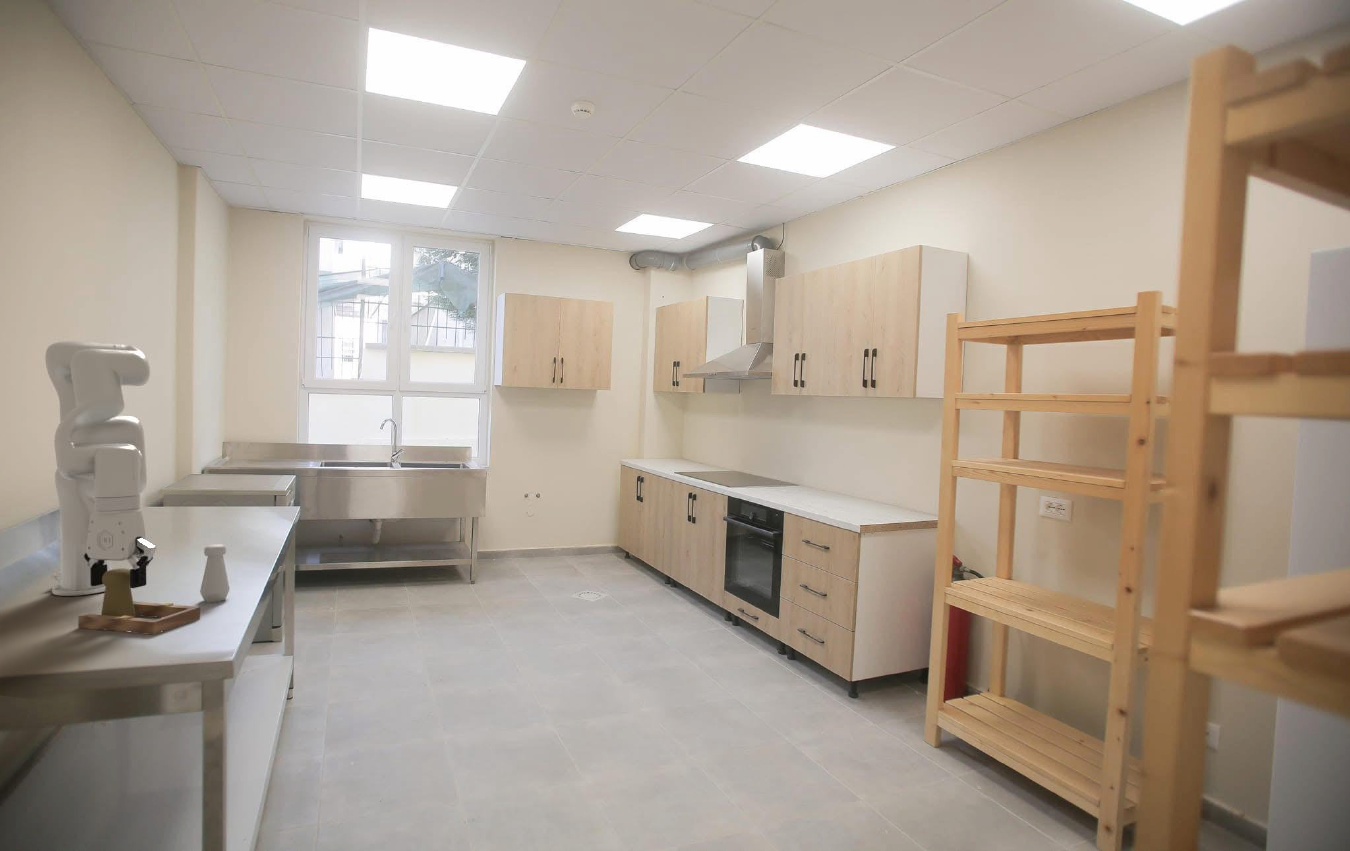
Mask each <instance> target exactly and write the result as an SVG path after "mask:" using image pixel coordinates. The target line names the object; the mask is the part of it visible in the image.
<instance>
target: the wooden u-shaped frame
mask: <svg viewBox="0 0 1350 851" xmlns="http://www.w3.org/2000/svg"><path fill="white" fill-rule="evenodd" d="M133 604H134V610H135V616H137V615H143V616H142V617H148V616H157V617H156V618H157V619H152V618H151V619H150V618H141V617H140V618H139V617H136V618H133V616H121V617H119V616H108V615H101V614H95V613H94V614H93V613H82V614H79V615H78V616H77V623H78V625H77V626H78V627H79V628H78V627H77V628H78V629H86V628H88V629H89V630H97V629H106V630H105V631H108V630H115V631H114V632H119V631H131V632H137V633H136V634H140V633H149V634H148V635H151V634H155V635H158V634H160V632H161V631H164V632H166V631H165V630H167V631H169V630H172V629H174V628H173V627H175V628H177V626H178V627H180V626H183V625H185V623H186V624H189V623H191V622H190V621H192V622H194V621H197V620H199V619H201V606H193V605H192V606H191V605H179V604H174V603H171V602H163V603H156V602H144V601H134V600H133ZM159 617H163V618H159ZM196 619H197V620H196ZM188 622H189V623H188ZM182 624H183V625H182ZM179 625H180V626H179ZM171 628H172V629H171ZM168 629H169V630H168ZM157 633H158V634H157ZM161 633H162V632H161Z"/></svg>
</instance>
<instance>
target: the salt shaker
mask: <svg viewBox="0 0 1350 851" xmlns="http://www.w3.org/2000/svg"><path fill="white" fill-rule="evenodd" d="M203 549H204V550H203V554H204V556H206V557H207V559H206V563H205V568H204V571H203V576H202V582H201V585H200V590H199V592H200V593H199V594H200V595H201V597H202V599H203V601H204V602H205V603H211V602H212V603H218V602H222V600H223V601H224V600H227V597H228V595H229V592H230V589H231V588H230V585H229V584H230V583H229V579H228V573H227V570H226V563H225V558H224V555H226V553H227V547H226V546H225V544H220V543H217V544H216V543H215V544H210V545H206V546H205V547H204V548H203Z"/></svg>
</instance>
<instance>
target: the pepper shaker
mask: <svg viewBox="0 0 1350 851" xmlns="http://www.w3.org/2000/svg"><path fill="white" fill-rule="evenodd" d="M130 569H131V568H121V567H120V568H112V569H111V570H109V571H107V572H105V573H104V575H103V577H102V582H103V584H104V585H105V586H106V587H105V591H104V594H103V595H104V596H103V601H102V607H101V614H100V615H108V616H119V617H121V616H133V618H137V617H136V616H137V615H135V610H134V604H133V601H134V599H133V593H132V588H131V587H130Z"/></svg>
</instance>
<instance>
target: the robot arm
mask: <svg viewBox="0 0 1350 851" xmlns="http://www.w3.org/2000/svg"><path fill="white" fill-rule="evenodd" d="M44 356H45V357H44V358H45V366H46V371H47V374H48V377H49V378H50V381H51V383H52V385H53V387H54V389H55V391H56V394H57V397H58V401H59V418H60V420H59V423H58V426H57V428H56V430H55V433H54V434H55V435H54V440H53V441H54V452H55V453H54V454H55V459H56V460H55V461H56V467H57V468H56V471H55V472H54V482H55V483H54V484H55V488H56V492H57V498H58V506H59V520H60V521H59V524H60V525H59V527H60V531H59V533H60V538H59V539H60V545H59V546H60V570H57V572H56V573H53V574H52V575H51V576H50V579H51V580H54V581H57V585H55V586H54V587H53V588H51V589H52V590H51V591H52V592H51V593H52V594H53V595H56V596H61V597H62V596H63V597H65V596H66V597H70V596H73V597H75V596H83V595H84V596H86V595H92V594H99V593H103V592H104V593H105V587H106V586H105V585H104V584H103V582H102V577H103V575H104V573H105V572H107V571H109V570H112V561H116V562H118V561H120V562H121V561H127V562H128V563H129V564H130V566H131V567H132V568H129V569H130V587H131V589H137V588H140V587H145V586H147V567H149V566H150V563H151V562H152V560H154V558H153V557H154V555H155V552H156V550H157V547H156V546H155V545H153V544H152V543H150V542H149V541H147V539H146V529H145V528H146V527H145V520H144V516H143V513H142V510H141V494H143V492H144V491H145V489H146V487H147V478H148V477H147V476H148V475H147V460H146V458H147V457H146V444H145V443H146V442H145V433H144V432H145V431H144V428H143V425H142V423H141V421H140V420H139V419H138V418H137V417H135V416H131V415H120V414H122V412H123V411H124V409H125V401H124V400H125V399H124V395H123V390H122V386H125V387H126V386H127V387H129V386H130V387H140V386H141V387H142V386H144V385H146V384H147V383H148V381H149V379H150V376H151V374H150V373H151V371H150V368H151V367H150V363H149V360H148V358H147V357H146V354H144V352H142V351H141V350H140V349H138V348H137V347H136V346H134V345H131V344H122V343H105V342H90V341H75V340H74V341H73V340H72V341H58V342H55V343H51V344H50V345H48V346H47V348H46V351H45V355H44ZM137 560H138V561H137Z"/></svg>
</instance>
